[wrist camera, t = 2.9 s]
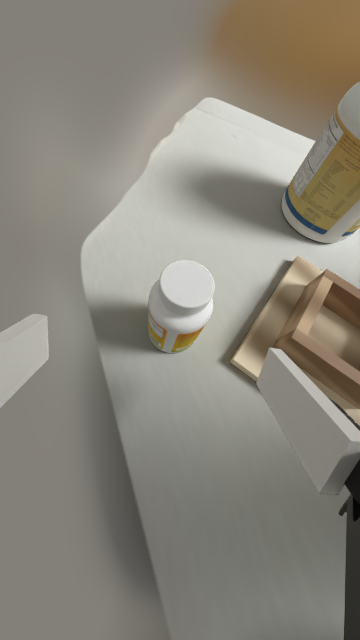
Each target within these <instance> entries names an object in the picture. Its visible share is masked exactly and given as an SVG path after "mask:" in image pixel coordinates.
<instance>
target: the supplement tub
mask: <svg viewBox="0 0 360 640" xmlns="http://www.w3.org/2000/svg"><path fill="white" fill-rule="evenodd" d="M282 210H283V213H284V216H285V218H286V219H287V221H288V222H289V224H290V225H291V226H292V227H293V228H294V229H295V230H296V231H298V232H299V233H300V234H302V235H304V236H305V237H307V238H309V239H312V240H315V241H318V242H323V243H334V242H338V241H341V240H344V239H346V238H347V237H349V236H351V235H352V234H353V233H354V232H355V231H356V230H357V229H358V228H360V82H358V83H357V84H355V85H354V86H353V87H352V88H351V89H350V90H349V91H348V92H347V93H346V94H345V96H344V97H343V98H342V100H341V101H340V103H339V105H338V107H337V108H336V110H335V112H334V113H333V115H332V116H331V118H330V119H329V121H328V123H327V124H326V126H325V128H324V129H323V131H322V132H321V134H320V136H319V137H318V139H317V140H316V142H315V144H314V145H313V147H312V148H311V150H310V152H309V153H308V155H307V156H306V158H305V160H304V161H303V163H302V165H301V166H300V168H299V169H298V171H297V173H296V174H295V176H294V177H293V179H292V181H291V182H290V184H289V185H288V187H287V188H286V190H285V192H284V195H283V197H282Z"/></svg>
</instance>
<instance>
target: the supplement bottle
mask: <svg viewBox="0 0 360 640" xmlns="http://www.w3.org/2000/svg"><path fill="white" fill-rule="evenodd" d="M214 289H215V284H214V279H213V277H212V275H211V273H210V272H209V271H208V270H207V269H206V268H205V267H204V266H202V265H201V264H199V263H197V262H194V261H190V260H179V261H175V262H172V263H170V264H169V265H168V266H166V267H165V268H164V270H163V271H162V273H161V275H160V279H159V280H158V281H157V282H156V283H155V284H154V285H153V287H152V289H151V291H150V295H149V302H148V334H149V338H150V340H151V341H152V343H153V344H154V345H155V346H156V347H157V348H158V349H160V350H162V351H164V352H167V353H178V352H182V351H184V350H186V349H188V348H189V347H190V346H191V345H192V344H193V342H194V341H195V340H196V338H197V337H198V335H199V334H200V332H201V331H202V329H203V328H204V326H205V325H206V323H207V322H208V320H209V318H210V316H211V314H212V310H213V299H212V296H213V294H214Z"/></svg>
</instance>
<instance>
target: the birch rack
mask: <svg viewBox="0 0 360 640" xmlns="http://www.w3.org/2000/svg"><path fill="white" fill-rule="evenodd" d="M269 348H276V349H281V350H282V351H283V352H284V353H285V354H286V355H287V356H288V357H289V358H290V359H291V360H292V361H293V362H294V363H295V364H296V365H297V366H298V367H299V368H300V370H301V371H302V372H303V373H304V374H305V375H306V376H307V377H308V378H309V379H310V380H311V381H312V382H313V383H314V384H315V385H316V386H317V387H318V388H319V389H320V390H321V391H322V392H323V393H324V394H325V395H326V396H327V397H328V398H330V399H331V400H333V401H334V402H335V403H337V404H338V405H339V406H340V407H341V408H342V409H343V410H344V411H345V412H346V413H347V414H348V416H350V417H351V418H352V419H353V420H354V421H355V423H357V424H358V425H359V426H360V290H359V289H358V288H356V287H354V286H353V285H351V284H350V283H348V282H347V281H345V280H343V279H342V278H340V277H339V276H337V275H336V274H334V273H332V272H331V271H329V270H328V269H326V270H325V271H324V272H323V271H322V270H320V269H318V268H317V267H315V266H314V265H312V264H311V263H309V262H307V261H306V260H304V259H303V258H301V257H300V256H297V257H296V258H295V259H294V260H293V262H292V263H291V265H290V266H289V268H288V270H287V271H286V273H285V274H284V276H283V278H282V279H281V281H280V282H279V284H278V286H277V287H276V289H275V290H274V292H273V293H272V295H271V297H270V298H269V300H268V301H267V303H266V305H265V306H264V308H263V309H262V311H261V312H260V314H259V316H258V317H257V319H256V320H255V322H254V324H253V325H252V327H251V328H250V330H249V332H248V333H247V335H246V336H245V338H244V339H243V341H242V343H241V344H240V346H239V347H238V349H237V351H236V352H235V354H234V355H233V357H232V359H231V360H230V363H232V364H233V365H234V366H236V367H237V368H238V369H240V370H241V371H242V372H244V373H245V374H246V375H248V376H249V377H250V378H252V379H253V380H255V381H256V382H257V380H258V378H259V375H260V372H261V369H262V366H263V364H264V361H265V358H266V355H267V352H268V350H269Z"/></svg>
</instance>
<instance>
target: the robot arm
mask: <svg viewBox="0 0 360 640" xmlns="http://www.w3.org/2000/svg"><path fill="white" fill-rule="evenodd" d="M48 359H49V345H48V319H47V316H45V315H38V314H32V315H30V316H28V317H26V318H25V319H23V320H21V321H19V322H18V323H16V324H14V325H13V326H11V327H9V328H7V329H6V330H4V331H2V332H0V408H1V407H2V406H3V405H4V404H5V403H6V402H7V401H8V400H9V398H11V396H13V395H14V394H15V392H16V391H17V390H18V389H19V388H20V387H21V386H22V385H23V384H24V383H25V382H26V381H27V380H28V379H29V378H30V377H31V376H32V375H33V374H34V373H35V372H36V371H37V370H38V369H39V368H40V367H41V366H42V365H43V364H44V363H45V362H46V361H47V360H48ZM256 385H257V386H258V388H259V390H260V392H261V393H262V395H263V397H264V399H265V400H266V402H267V404H268V406H269V407H270V409H271V411H272V413H273V414H274V416H275V418H276V420H277V421H278V423H279V425H280V427H281V428H282V430H283V432H284V434H285V435H286V437H287V439H288V440H289V442H290V444H291V446H292V447H293V449H294V451H295V453H296V454H297V456H298V458H299V460H300V461H301V463H302V465H303V467H304V468H305V470H306V472H307V474H308V475H309V477H310V479H311V481H312V482H313V484H314V486H315V488H316V489H317V491H318V493H319V494H329V495H338V493H339V492H340V490H341V489H342V487H343V486H344V484H345V485H346V487H347V488H348V490H349V491H350V493H351V495H350V496H349V497H348V499H347V500H346V502H345V503H344V505H343V506H342V508H341V509H340V511H339V515H341V516H342V515H343V514H344V513H345V512H347V532H346V576H345V619H344V640H360V426H359V425H358V424H357V423H355V421H354V420H353V419H352V418H351V417H350V416H348V414H347V413H346V412H345V411H344V410H343V409H342V408H341V407H340V406H339V405H338V404H337V403H335V402H334V401H333V400H331V399H330V398H328V397H327V396H326V395H325V394H324V393H323V392H322V391H321V390H320V389H319V388H318V387H317V386H316V385H315V384H314V383H313V382H312V381H311V380H310V379H309V378H308V377H307V376H306V375H305V374H304V373H303V372H302V371H301V370H300V368H299V367H298V366H297V365H296V364H295V363H294V362H293V361H292V360H291V359H290V358H289V357H288V356H287V355H286V354H285V353H284V352H283V351H282V350H281V349H276V348H269V350H268V352H267V355H266V358H265V361H264V364H263V366H262V369H261V372H260V375H259V378H258V380H257V383H256Z"/></svg>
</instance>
